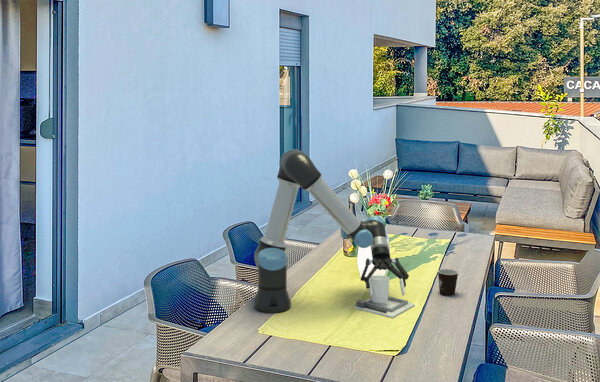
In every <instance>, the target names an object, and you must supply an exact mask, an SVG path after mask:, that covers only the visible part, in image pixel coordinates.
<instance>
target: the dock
mask: <svg viewBox="0 0 600 382" xmlns="http://www.w3.org/2000/svg"><path fill="white" fill-rule="evenodd" d="M413 306H414V307H415V306H416V304H415V303H411V302H408V300H405V299H401V298H398V297H397V298H396V297H393V296H389V295H388V302H386V303H374V302H372V299H371V297H370V298H368V299H366V300H362V299H358V300H356V302H355V305H354V306H353V307H354V309H356V310H360V311H362V312H363V311H364V312H366V313H367V312H368V313H371V314H375V315H379V316H383V317H386V318H389V317H390V318H389V319H394V318H396V317H398V316H399V315H401V314H403V313H405V312H406V310H407V311H408V310H410V309H412V308H413ZM411 307H412V308H411ZM409 308H410V309H409ZM404 311H405V312H404ZM402 312H403V313H402ZM397 315H398V316H397Z"/></svg>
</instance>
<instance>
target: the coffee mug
mask: <svg viewBox="0 0 600 382" xmlns="http://www.w3.org/2000/svg"><path fill="white" fill-rule="evenodd" d="M437 273H438V274H437V275H438V289H439V295H441V296H443V297H453V296H455V293H456V287H457V282H458V276H459V271H457V270H455V269H452V268H451V269H449V268H442V269H438V270H437Z"/></svg>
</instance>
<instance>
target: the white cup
mask: <svg viewBox="0 0 600 382" xmlns="http://www.w3.org/2000/svg"><path fill="white" fill-rule="evenodd" d="M390 279H391V278H390V276H388V275H382V274H380V275H379V274H378V275H377V274H376V275H372V276H371V277H370V280H371V285H372V291H373V295H372V297H370V298H371V299H372V302H374V303H386V302H388V296H389V294H390V293H389V292H390Z"/></svg>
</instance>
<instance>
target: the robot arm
mask: <svg viewBox="0 0 600 382" xmlns="http://www.w3.org/2000/svg"><path fill="white" fill-rule="evenodd" d="M322 176H323V175H322V173H321V172H320V171H319V169H318V168H317V167H316V165H315V164H314V162H313V160H312V159H311V158H310V156H308V154H306V153H304V151H303V150H299V149H294V148H291V149H288V150H286V151H285V152H283V154H282V155H281V157H280V159H279V169H278V172H277V177H276V179H277V180H278V186H277V190H276V194H275V198H274V201H273V204H272V208H271V212H270V215H269V219H268V222H267V226H266V230H265V234H264V236H262V237H260V238H259V241H258V246H257V247H256V249H255V251H254V255H253V256H254V257H253V258H254V263H255V266H256V268H257V273H258V274H257V277H258V278H257V280H258V281H257V287H258V288H257V291H256V294H255V298H254V301H253V307H254V309H255V310H256V311H258V312H261V313H268V314H276V313H278V314H279V313H282V312H286V311H288V310H290V309H291V308H292V302H291V300H292V299H290V296H289V292H288V288H287V273H288V272H287V269H288V268H287V267H288V266H287V263H288V258H287V257H288V256H287V253H286V248H287V244H286V242H285V239H286V235H287V233H288V227H289V225H290V222H291V217H292V214H293V210H294V206H295V202H296V201H297V195H298V192H299V188H301V189H302V190H303V191H307V192H308V193H309V194H310V195H311V196H312V197H313V198H314V199H315V200H316V202H317V203H318V204H319V205H320V206H321V207H322V208H323V209H324V211H326V213H328V215H330V217H331V218H332V219H333V220H334V221H335V223H336V224H338V226H339V227H340V236H341V238H342V239H345V240H346V239H348V240H349V239H351V241H353V243H354V244H355V245H356V246H357V247H359V248H362V249H366V248H368V247H370V251H371V253H370V254H371V259H370V258H366V259H365V267H364V269H363V272H362V275H361V277H360V281H361V282H364V283H365V288H366V290H367V289H368V293H369V297H370V298H371V297H372V295H373V291H372V285H371V280H370V277H371V276H374V274H375V272H376V271H377V270H379V271H382V270H384V271H386V270H388V271H389V272H391V273H392V274H393V275H394V276H395V277H397V278H398V279H399V285H400V291H401V295H402V296H403V297H404V296H405V294H406V291H405V290H406V286H407V282H406V280H408V279H409V277H410V275H409V273H408V272H407V271H406V269H405V267H403V265H402V264H401V263H400V261H399V258H398V257H395V258H393V259H392V257H391V254H390V249H389V243H388V238H387V231H386V225H385V222H384V218H383V217H381V216H380V215H372V216H369V217H368V218H367V219H366V221H361V220H360V219H359V218H358V217H357V216H356V215H355V213H353V211H351V209H350V208H349V207H348V206H347V205H346V204H345V203H344V201H343V200H341V198H340V197H339V196H338V195H337V194H336V192H334V190H333V189H332V188H331V187H330V186H329V185H328V183H327V182H326V181H325V180H324V178H322ZM371 264H372V265H373V268H372V269H371V270H370V272H368V268H369V266H370V265H371ZM367 272H368V274H367V276H366V273H367Z"/></svg>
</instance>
